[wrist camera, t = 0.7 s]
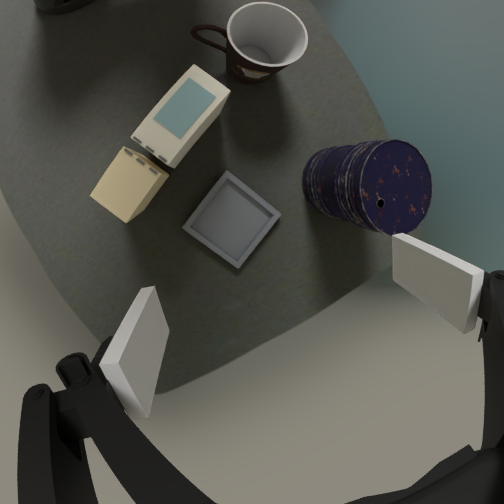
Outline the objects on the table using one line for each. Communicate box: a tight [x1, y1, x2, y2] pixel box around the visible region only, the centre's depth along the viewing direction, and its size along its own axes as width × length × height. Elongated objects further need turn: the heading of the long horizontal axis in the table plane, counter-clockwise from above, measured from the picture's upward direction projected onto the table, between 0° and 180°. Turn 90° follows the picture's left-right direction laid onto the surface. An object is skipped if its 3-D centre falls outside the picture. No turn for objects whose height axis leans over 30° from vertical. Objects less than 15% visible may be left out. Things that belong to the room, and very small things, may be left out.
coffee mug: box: [191, 2, 308, 84], centre depth 29 cm, size 12×9×10 cm
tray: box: [182, 170, 281, 269], centre depth 38 cm, size 9×9×1 cm
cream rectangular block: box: [90, 146, 170, 223], centre depth 30 cm, size 4×6×11 cm
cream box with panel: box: [130, 64, 231, 169], centre depth 29 cm, size 4×9×11 cm, turn 141°
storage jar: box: [302, 139, 433, 236], centre depth 33 cm, size 10×10×15 cm
